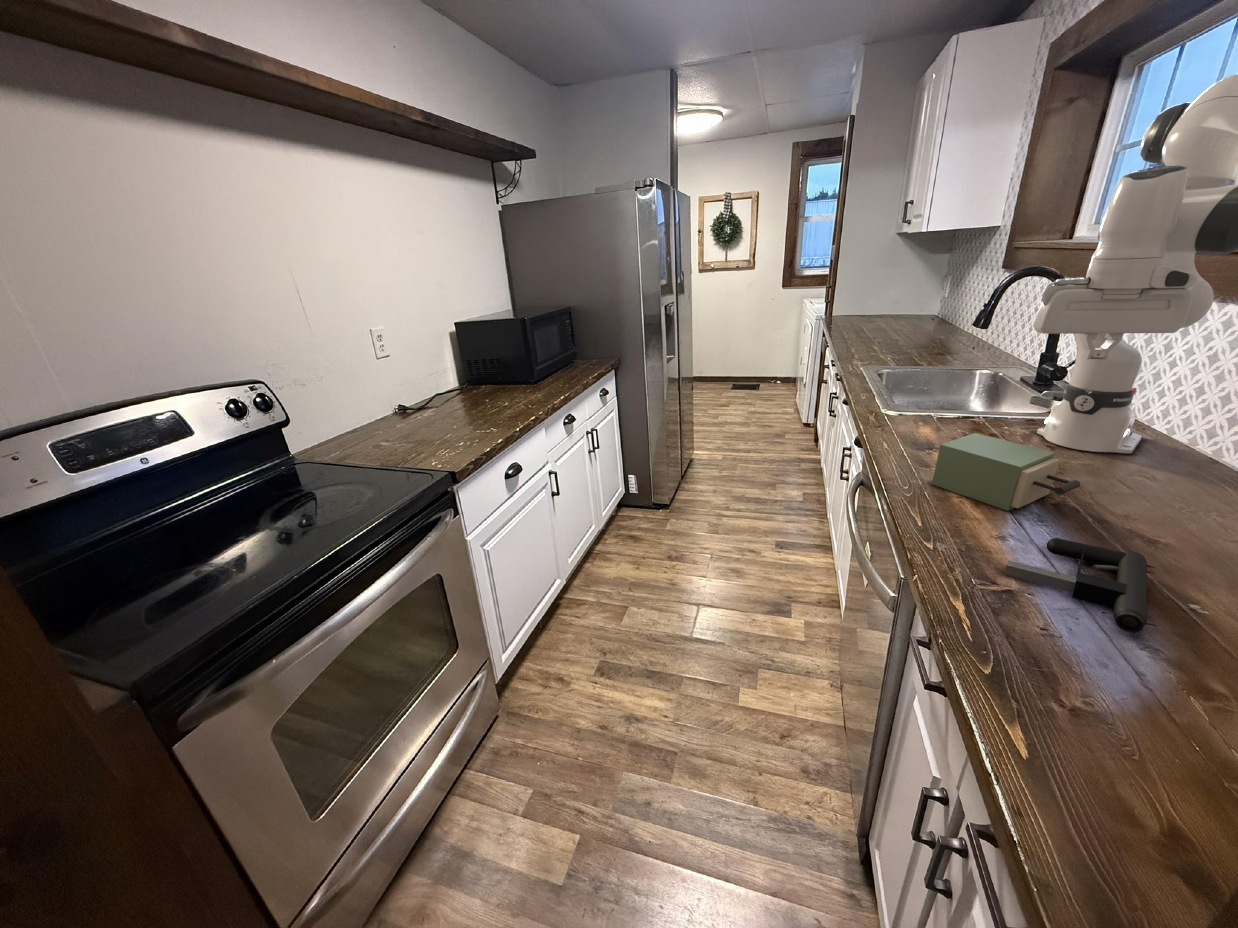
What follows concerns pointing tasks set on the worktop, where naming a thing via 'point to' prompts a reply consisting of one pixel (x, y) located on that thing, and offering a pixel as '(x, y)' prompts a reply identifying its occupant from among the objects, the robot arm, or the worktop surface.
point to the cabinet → (985, 467)
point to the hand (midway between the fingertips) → (1094, 358)
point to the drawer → (1040, 483)
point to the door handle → (1098, 580)
